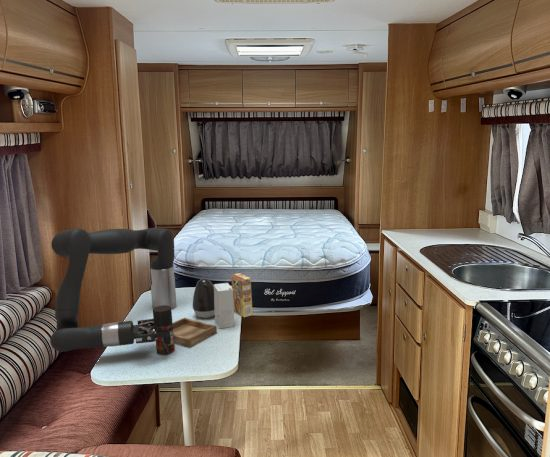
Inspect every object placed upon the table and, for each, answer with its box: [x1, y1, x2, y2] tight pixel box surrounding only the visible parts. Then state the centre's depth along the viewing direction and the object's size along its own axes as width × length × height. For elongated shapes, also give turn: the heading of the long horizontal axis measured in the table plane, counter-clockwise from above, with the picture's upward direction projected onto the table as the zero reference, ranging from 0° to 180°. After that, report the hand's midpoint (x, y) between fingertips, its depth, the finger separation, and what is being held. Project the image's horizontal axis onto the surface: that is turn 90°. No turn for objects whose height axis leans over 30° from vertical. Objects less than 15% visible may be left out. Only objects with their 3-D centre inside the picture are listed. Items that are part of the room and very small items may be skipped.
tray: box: [172, 317, 218, 349], centre depth 181 cm, size 16×14×3 cm
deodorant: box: [152, 305, 176, 356], centre depth 168 cm, size 6×6×15 cm
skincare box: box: [213, 282, 235, 329], centre depth 189 cm, size 8×6×15 cm
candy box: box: [230, 272, 253, 318], centre depth 199 cm, size 9×4×15 cm, turn 33°
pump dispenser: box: [192, 277, 215, 319], centre depth 198 cm, size 10×10×15 cm
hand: (169, 328), depth 168 cm, fingers open, 8 cm apart
